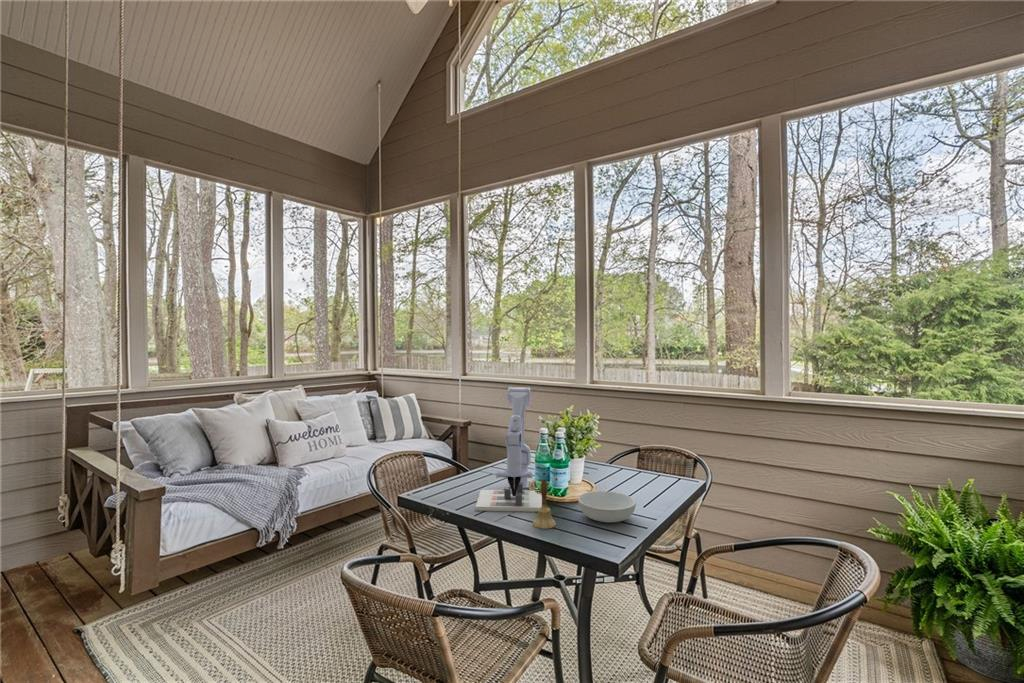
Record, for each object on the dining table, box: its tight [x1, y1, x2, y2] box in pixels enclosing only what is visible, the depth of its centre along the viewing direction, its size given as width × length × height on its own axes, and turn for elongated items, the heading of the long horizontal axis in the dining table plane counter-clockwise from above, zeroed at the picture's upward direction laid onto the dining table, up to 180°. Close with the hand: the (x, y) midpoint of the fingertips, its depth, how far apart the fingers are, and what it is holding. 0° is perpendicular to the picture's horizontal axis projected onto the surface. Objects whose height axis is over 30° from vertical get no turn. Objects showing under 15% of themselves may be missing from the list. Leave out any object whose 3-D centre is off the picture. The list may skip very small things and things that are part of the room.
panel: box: [474, 482, 542, 513], centre depth 191 cm, size 20×26×6 cm
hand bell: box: [532, 478, 557, 530], centre depth 169 cm, size 8×8×16 cm
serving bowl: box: [577, 490, 637, 524], centre depth 175 cm, size 21×21×7 cm
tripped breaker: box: [503, 486, 511, 498], centre depth 191 cm, size 3×2×4 cm
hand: (514, 495), depth 191 cm, fingers closed
